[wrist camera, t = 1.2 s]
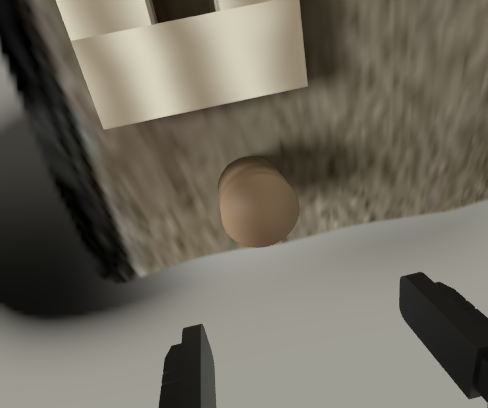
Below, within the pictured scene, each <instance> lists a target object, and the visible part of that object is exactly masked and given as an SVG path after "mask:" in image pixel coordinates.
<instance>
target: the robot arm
mask: <svg viewBox="0 0 488 408" xmlns="http://www.w3.org/2000/svg"><path fill="white" fill-rule="evenodd" d="M399 307H400V311H401V314H402V316H403V318H404V320H405V321H406V323H407V324H408V325H409V326H410V328H411V329H412V330H413V331H414V333H415V334H416V335H417V336H418V338H419V339H420V340H421V341H422V342H423V344H424V345H425V346H426V347H427V348H428V350H429V351H430V352H431V354H432V355H433V356H434V357H435V358H436V360H437V361H438V362H439V363H440V364H441V366H442V367H443V368H444V369H445V371H446V372H447V373H448V374H449V375H450V377H451V378H452V379H453V380H454V382H455V383H456V384H457V385H458V387H459V388H460V389H461V390H462V391H463V393H464V394H465V395H466V396H467V397H468V399H472V398H476V397H480V396H482V397H483V398H484V399H485V400H486V402H488V318H487V317H486V316H485V315H484V314H482V313H481V312H480V311H479V310H478V309H475V307H474V306H473V305H472V304H471V303H470V302H468V301H466V299H465V298H464V297H463V296H462V295H460V294H459V293H458V292H456V290H455V289H453V288H451V287H449V286H447V285H445V284H443V283H441V282H436V283H434V282H433V281H432V280H431V279H429V278H428V277H427V276H426V275H425V274H424V273H422V272H418V273H414V274H410V275H406V276H402V277H401V278H400V297H399ZM215 394H216V393H215V371H214V360H213V355H212V351H211V348H210V345H209V342H208V339H207V335H206V332H205V329H204V326H203V324H199V325H195V326H191V327H186V328H183V332H182V343H181V344H178V345H173V346H171V348H170V350H169V352H168V354H167V356H166V357H165V362H164V369H163V377H162V386H161V394H160V401H159V408H216V395H215ZM487 408H488V404H487Z"/></svg>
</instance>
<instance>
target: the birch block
mask: <svg viewBox="0 0 488 408" xmlns="http://www.w3.org/2000/svg"><path fill="white" fill-rule="evenodd" d="M56 2H57V5H58V8H59V10H60V13H61V16H62V18H63V21H64V24H65V26H66V29H67V32H68V34H69V37H70V40H71V43H72V45H73V48H74V51H75V53H76V56H77V59H78V61H79V64H80V67H81V70H82V72H83V75H84V78H85V80H86V83H87V86H88V88H89V91H90V94H91V96H92V99H93V102H94V105H95V107H96V110H97V113H98V115H99V118H100V121H101V123H102V126H103V129H104V130H105V129H109V128H114V127H119V126H123V125H128V124H133V123H138V122H142V121H147V120H152V119H156V118H161V117H166V116H170V115H175V114H180V113H185V112H189V111H194V110H199V109H203V108H208V107H213V106H218V105H222V104H227V103H232V102H236V101H241V100H246V99H251V98H255V97H260V96H265V95H269V94H274V93H279V92H283V91H288V90H293V89H298V88H302V87H307V86H308V83H307V73H306V63H305V53H304V43H303V32H302V22H301V12H300V2H299V0H214V5H215V11H216V12H213V13H208V14H203V15H198V16H193V17H188V18H183V19H178V20H173V21H168V22H163V23H158V21H157V17H156V14H155V10H154V6H153V2H152V0H56Z"/></svg>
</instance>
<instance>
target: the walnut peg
mask: <svg viewBox="0 0 488 408" xmlns="http://www.w3.org/2000/svg"><path fill="white" fill-rule="evenodd" d="M218 196H219V203H220V211H221V218H222V223H223V226H224V228H225V230H226V232H227V233H228V235H229V236H230V237H231V238H232V239H234V240H235V241H236V242H238V243H240V244H242V245H245V246H248V247H256V248H258V247H267V246H270V245H273V244H275V243H277V242H279V241H281V240H282V239H284V238H285V237H286V236H287V235H288V234H289V233H290V232H291V231H292V229H293V228H294V226H295V224H296V222H297V220H298V216H299V201H298V198H297V195H296V194H295V192H294V190H293V189H292V188H291V186H290V185H289V184H288V182H287V181H286V180H285V178H284V177H283V176H282V175H281V173H280V172H279V171H278V169H277V168H276V167H275V166H274V165H273V164H272V163H271V162H269V161H268V160H266V159H264V158H261V157H256V156H248V157H243V158H239V159H237V160H235V161H233V162H232V163H231V164H229V165H228V166H227V167H226V168H225V170H224V171H223V172H222V174H221V176H220V179H219V182H218Z"/></svg>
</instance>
